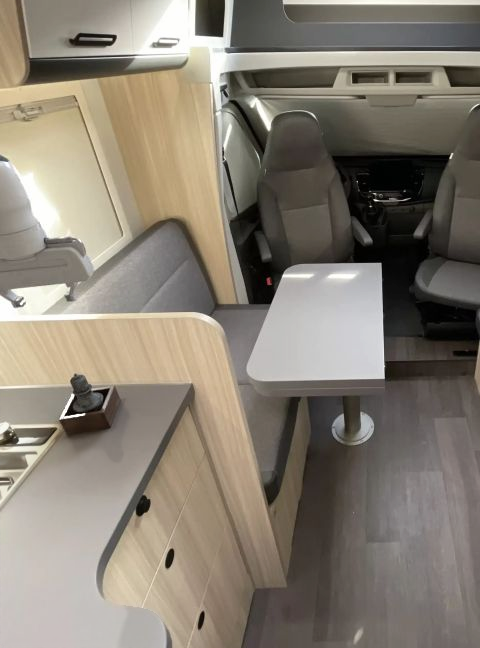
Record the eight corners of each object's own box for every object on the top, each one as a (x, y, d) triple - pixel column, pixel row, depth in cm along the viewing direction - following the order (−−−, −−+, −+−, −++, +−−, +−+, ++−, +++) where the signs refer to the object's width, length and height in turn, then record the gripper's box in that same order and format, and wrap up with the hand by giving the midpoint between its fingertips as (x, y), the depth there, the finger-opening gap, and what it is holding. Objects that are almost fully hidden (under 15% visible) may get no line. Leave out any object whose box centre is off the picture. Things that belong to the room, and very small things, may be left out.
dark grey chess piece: (109, 415, 100) (91, 375, 94) (79, 427, 98) (59, 386, 91) (106, 400, 105) (89, 361, 98) (77, 410, 102) (58, 371, 96)
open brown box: (66, 435, 97) (58, 419, 94) (80, 406, 104) (73, 391, 102) (110, 427, 99) (103, 412, 96) (121, 400, 106) (114, 385, 104)
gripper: (85, 228, 87) (107, 289, 94) (-36, 239, 83) (-3, 301, 90) (74, 241, 82) (98, 304, 89) (-56, 253, 78) (-19, 318, 85)
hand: (46, 303), depth 89 cm, fingers open, 8 cm apart
